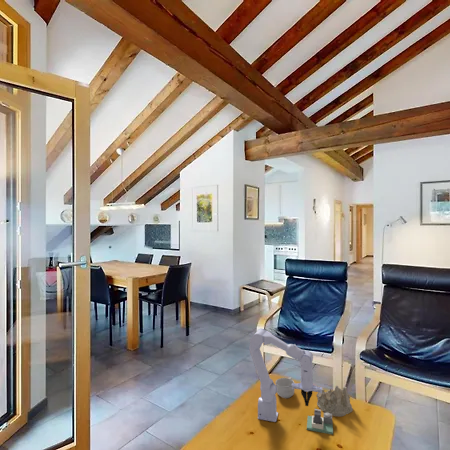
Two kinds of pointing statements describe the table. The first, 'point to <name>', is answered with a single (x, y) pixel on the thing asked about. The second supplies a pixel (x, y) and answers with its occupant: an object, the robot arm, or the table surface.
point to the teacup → (285, 387)
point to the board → (325, 424)
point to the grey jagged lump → (335, 401)
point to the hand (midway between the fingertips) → (306, 404)
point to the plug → (317, 416)
